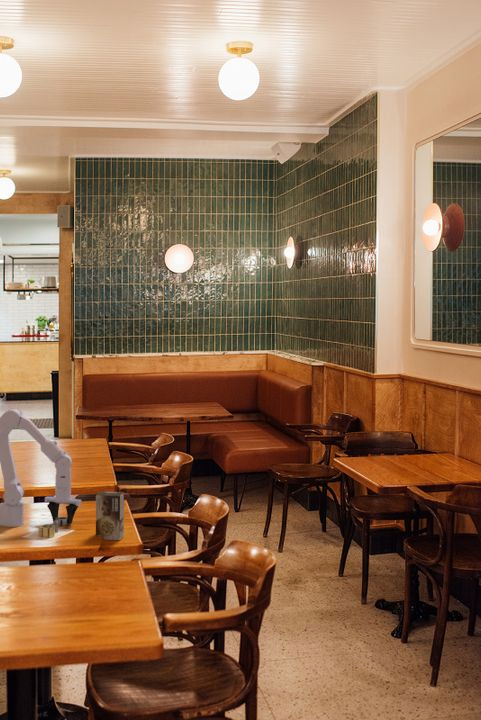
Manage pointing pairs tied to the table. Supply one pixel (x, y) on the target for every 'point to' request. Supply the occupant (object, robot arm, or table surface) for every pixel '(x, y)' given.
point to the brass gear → (46, 531)
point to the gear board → (58, 533)
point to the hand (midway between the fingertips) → (62, 523)
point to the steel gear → (62, 521)
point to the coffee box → (110, 515)
